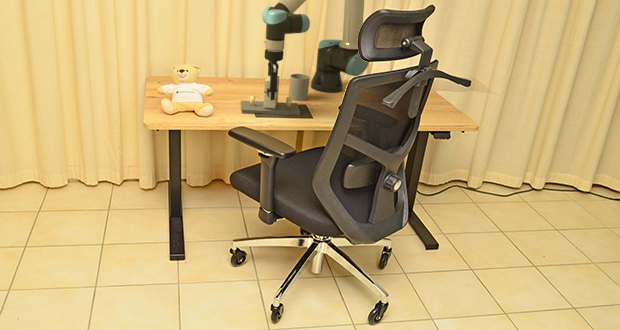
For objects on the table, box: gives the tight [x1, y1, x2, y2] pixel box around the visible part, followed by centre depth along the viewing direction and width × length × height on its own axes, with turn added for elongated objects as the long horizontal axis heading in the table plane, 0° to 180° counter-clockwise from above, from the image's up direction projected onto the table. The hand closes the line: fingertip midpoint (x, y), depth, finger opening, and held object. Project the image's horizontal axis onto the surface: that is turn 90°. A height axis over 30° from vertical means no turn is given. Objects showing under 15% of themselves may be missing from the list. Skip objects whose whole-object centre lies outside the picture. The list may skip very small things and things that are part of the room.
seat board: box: [240, 95, 301, 117], centre depth 251 cm, size 24×12×6 cm, turn 98°
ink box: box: [263, 74, 280, 109], centre depth 249 cm, size 9×5×12 cm, turn 174°
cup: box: [288, 73, 310, 102], centre depth 268 cm, size 8×8×10 cm
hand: (270, 102), depth 251 cm, fingers closed on ink box, 9 cm apart
